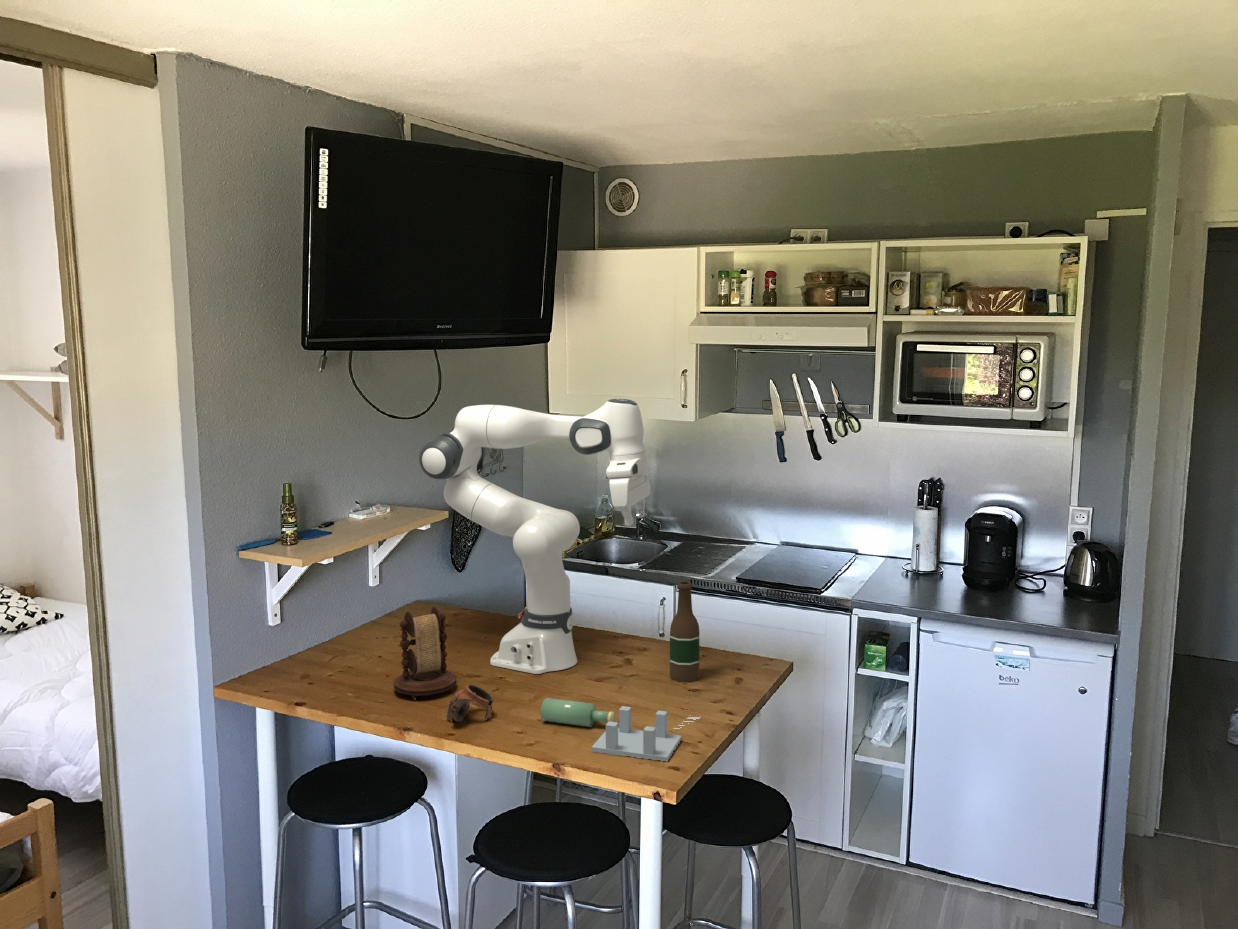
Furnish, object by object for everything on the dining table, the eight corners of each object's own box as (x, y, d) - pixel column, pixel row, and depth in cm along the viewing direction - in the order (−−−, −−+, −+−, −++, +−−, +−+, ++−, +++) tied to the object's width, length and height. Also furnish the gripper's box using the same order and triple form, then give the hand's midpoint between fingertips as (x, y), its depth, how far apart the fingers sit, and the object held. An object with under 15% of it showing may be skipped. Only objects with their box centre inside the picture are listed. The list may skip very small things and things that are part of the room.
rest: (591, 751, 202) (591, 723, 202) (609, 731, 213) (609, 704, 212) (667, 762, 197) (667, 733, 197) (681, 740, 208) (681, 713, 207)
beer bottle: (663, 679, 243) (663, 584, 240) (676, 670, 250) (676, 577, 247) (692, 684, 240) (693, 588, 236) (705, 674, 246) (705, 580, 243)
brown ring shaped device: (452, 710, 226) (470, 679, 226) (486, 733, 224) (503, 701, 224) (430, 717, 215) (449, 684, 214) (465, 741, 212) (484, 707, 212)
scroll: (407, 706, 227) (404, 622, 225) (385, 687, 240) (381, 607, 237) (466, 693, 235) (464, 611, 233) (441, 675, 248) (439, 597, 245)
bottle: (541, 724, 217) (540, 702, 216) (549, 716, 221) (549, 694, 221) (609, 733, 212) (608, 711, 211) (616, 724, 216) (616, 702, 216)
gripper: (629, 460, 251) (635, 513, 253) (603, 472, 232) (610, 530, 233) (653, 458, 249) (659, 512, 251) (629, 470, 230) (635, 528, 231)
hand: (635, 521), depth 242 cm, fingers open, 8 cm apart
